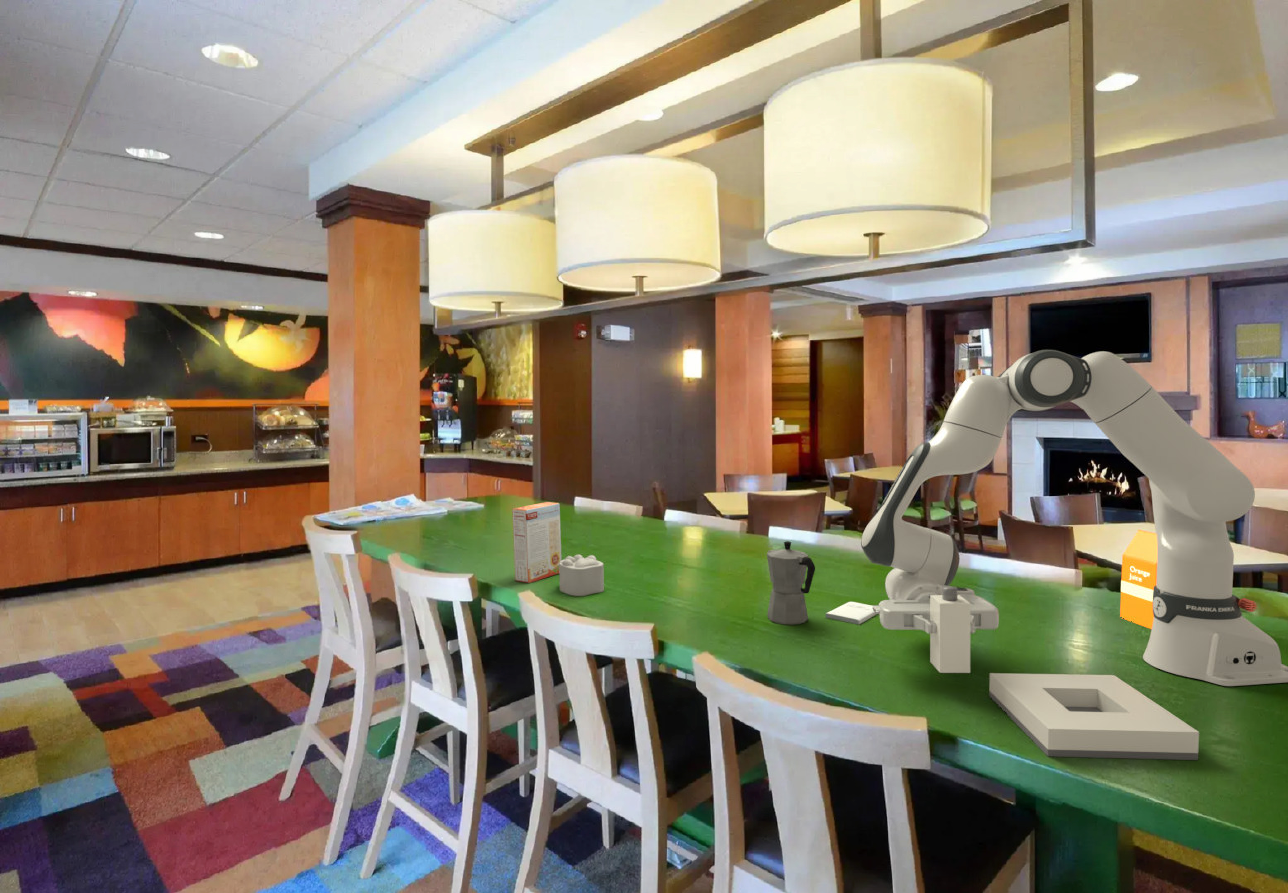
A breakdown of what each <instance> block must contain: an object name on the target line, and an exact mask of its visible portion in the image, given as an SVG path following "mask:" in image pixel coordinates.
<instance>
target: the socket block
mask: <svg viewBox="0 0 1288 893" xmlns="http://www.w3.org/2000/svg"><path fill="white" fill-rule="evenodd" d="M988 689H989V690H988V691H989V692H988V693H989V694H988V696H989V698H990V699H991V698H992V699H991V700H992V701H993V702H994V703H995V702H996V703H995V704H996V705H997V704H998V705H997V706H998V707H999V708H1000V707H1001V708H1002V709H1001V708H1000V709H1001V710H1002V711H1003V712H1004V711H1005V712H1006V713H1007V714H1006V713H1005V712H1004V713H1005V714H1006V715H1007V717H1009V716H1010V717H1009V718H1010V719H1011V721H1013V723H1014V724H1015V725H1016V726H1017V727H1019V729H1021V731H1022V732H1023V733H1025V735H1027V737H1028V738H1029V737H1030V738H1029V739H1030V740H1031V741H1032V740H1033V741H1032V742H1033V743H1034V744H1035V745H1036V746H1037V747H1038V748H1039V749H1040V750H1041V751H1042V752H1043V753H1044V754H1045V755H1046V757H1053V756H1054V757H1055V758H1057V757H1058V758H1062V757H1063V758H1095V759H1096V758H1097V759H1098V758H1100V759H1101V758H1102V759H1133V760H1134V759H1137V760H1139V759H1140V760H1141V759H1142V760H1143V759H1144V760H1174V761H1175V760H1177V761H1178V760H1180V761H1181V760H1183V761H1186V760H1187V761H1198V760H1199V747H1200V746H1199V744H1200V743H1199V742H1200V740H1199V739H1200V732H1199V731H1198V730H1197V729H1195V728H1194V727H1193V726H1191V725H1189V724H1187V723H1186V722H1185V721H1183V720H1182V719H1180V718H1179V717H1177V716H1176V715H1174V714H1172V713H1171V712H1170V711H1168V710H1167V709H1165V708H1164V707H1162V705H1159V704H1158V703H1156V702H1155V701H1153V700H1152V699H1150V698H1149V697H1147V696H1146V695H1145V694H1143V693H1141V692H1140V691H1139V690H1137V689H1136V688H1134V687H1132V686H1131V685H1130V684H1128V683H1127V682H1125V681H1123V680H1122V679H1120V678H1119V677H1117V676H1116V675H1115V674H1071V673H1070V674H1068V673H1067V674H1066V673H1065V674H1062V673H1061V674H1060V673H1058V674H1057V673H1005V672H1004V673H1001V672H998V673H997V672H996V673H995V672H990V673H989V688H988Z"/></svg>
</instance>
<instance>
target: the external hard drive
mask: <svg viewBox="0 0 1288 893" xmlns="http://www.w3.org/2000/svg"><path fill="white" fill-rule="evenodd" d="M873 606H874V605H869V604H865V603H861V602H856V601H848V602H846V603H844V604H842V605H840V606H838V607H836V608H834V609H833V610H830V611H828V612H826V613H824V614H825V615H824V616H825V618H826V619H832V620H834V621H841V622H845V623H849V624H854V625H861V624H863V623H865V622H866V621H868V620H869V619H871V618H873V617H874V616H877V615H878V614H877V613H875V612H874V611H873Z"/></svg>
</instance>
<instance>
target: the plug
mask: <svg viewBox="0 0 1288 893" xmlns="http://www.w3.org/2000/svg"><path fill="white" fill-rule="evenodd" d="M957 587H958V586H953V585H949V586H943V587H942V595H930V621H934V622H935V623H936V625H937V628H936V630H937V632H936V633H929V635H930V636H929V640H930V641H929V642H930V643H929V645H930V646H929V650H930V651H929V652H930V654H929V656H930V657H929V659H930V660H929V662H930V664H932V666H933V667H934V668H935V669H936V671H938V672H939V673H940V674H941V673H942V674H946V673H947V674H950V673H951V674H954V673H955V674H961V673H962V674H970V673H971V633H970V603H969V602H968V601H967V600H965V599H964V598H963V597H961V596H960V595H958V588H957Z"/></svg>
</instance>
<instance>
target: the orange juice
mask: <svg viewBox="0 0 1288 893" xmlns="http://www.w3.org/2000/svg"><path fill="white" fill-rule="evenodd" d="M1121 559H1122V561H1121V580H1120V608H1119V609H1120V610H1119V612H1120V613H1119V614H1120V615H1119V618H1120V617H1122V618H1121V619H1123V618H1124V619H1123V620H1126V621H1128V622H1131V621H1132V622H1131V623H1134V624H1137V625H1139V626H1142V627H1144V628H1147V629H1150V630H1152V625H1153V619H1154V616H1153V605H1152V604H1153V589H1154V586H1156V580H1157V536H1156V532H1155V533H1154V532H1152V531H1151V532H1150V531H1147V530H1141V529H1137V532H1136V534H1134V537H1133V538H1132V539H1131V541H1130V543H1129V544H1128V546H1127V547H1126V549H1125V551H1124V552H1123V554H1122V556H1121Z"/></svg>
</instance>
